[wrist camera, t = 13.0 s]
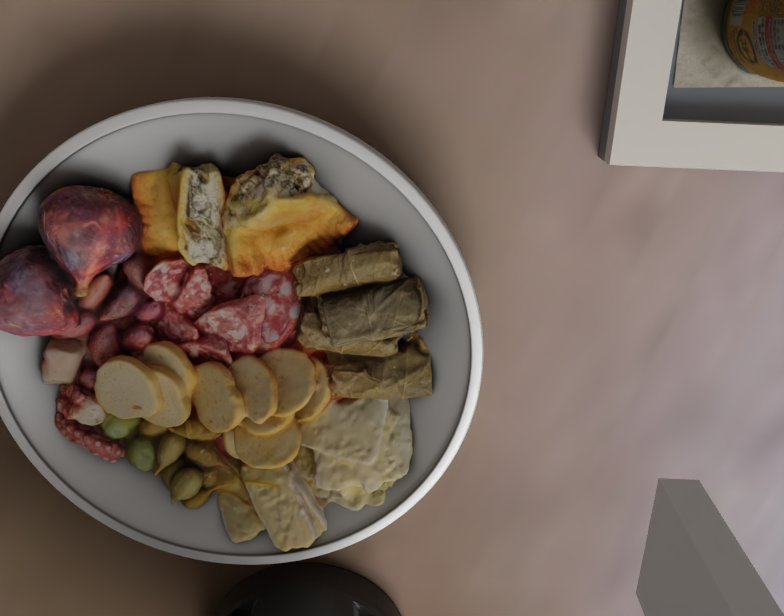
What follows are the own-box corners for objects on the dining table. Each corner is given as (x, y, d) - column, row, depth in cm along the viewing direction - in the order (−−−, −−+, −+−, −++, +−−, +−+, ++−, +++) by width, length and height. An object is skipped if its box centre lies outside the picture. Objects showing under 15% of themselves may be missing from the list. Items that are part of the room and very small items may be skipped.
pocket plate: (869, 168, 44) (897, 177, 42) (598, 156, 44) (609, 164, 42) (953, -144, 39) (991, -155, 36) (641, -157, 39) (657, -169, 36)
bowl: (552, 195, 46) (580, 229, 38) (383, 568, 56) (379, 651, 49) (65, 11, 42) (-7, 10, 35) (-20, 443, 53) (-89, 512, 45)
